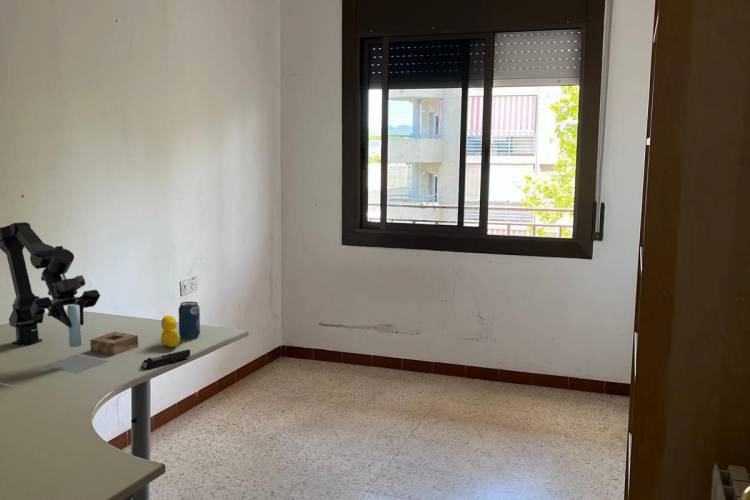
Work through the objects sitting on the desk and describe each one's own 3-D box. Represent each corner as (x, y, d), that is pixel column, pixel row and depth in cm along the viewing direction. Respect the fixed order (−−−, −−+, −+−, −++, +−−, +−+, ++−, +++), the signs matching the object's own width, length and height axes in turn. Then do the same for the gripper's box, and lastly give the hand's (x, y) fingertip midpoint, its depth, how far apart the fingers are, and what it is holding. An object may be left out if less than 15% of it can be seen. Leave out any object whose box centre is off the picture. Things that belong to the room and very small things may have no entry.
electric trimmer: (193, 360, 196) (193, 350, 196) (146, 371, 185) (146, 360, 184) (186, 357, 198) (186, 347, 198) (140, 368, 187) (140, 358, 187)
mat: (41, 367, 185) (41, 366, 185) (75, 355, 196) (75, 354, 196) (77, 374, 180) (76, 373, 180) (109, 362, 191) (109, 361, 191)
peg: (66, 346, 186) (64, 306, 184) (75, 343, 189) (73, 304, 187) (74, 347, 185) (72, 307, 183) (83, 344, 188) (81, 305, 186)
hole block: (90, 351, 200) (90, 339, 200) (114, 343, 210) (114, 331, 209) (114, 356, 197) (114, 343, 196) (138, 347, 206) (137, 335, 205)
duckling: (157, 342, 211) (156, 313, 210) (173, 340, 214) (172, 311, 213) (166, 351, 202) (165, 321, 201) (183, 349, 205) (182, 319, 204)
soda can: (202, 338, 218) (202, 304, 216) (182, 341, 214) (182, 306, 212) (196, 333, 223) (195, 300, 221) (176, 336, 219) (175, 302, 218)
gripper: (32, 271, 179) (51, 316, 174) (95, 263, 193) (115, 304, 188) (21, 294, 185) (40, 338, 180) (84, 285, 199) (103, 325, 194)
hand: (76, 325), depth 185 cm, fingers closed on peg, 3 cm apart
